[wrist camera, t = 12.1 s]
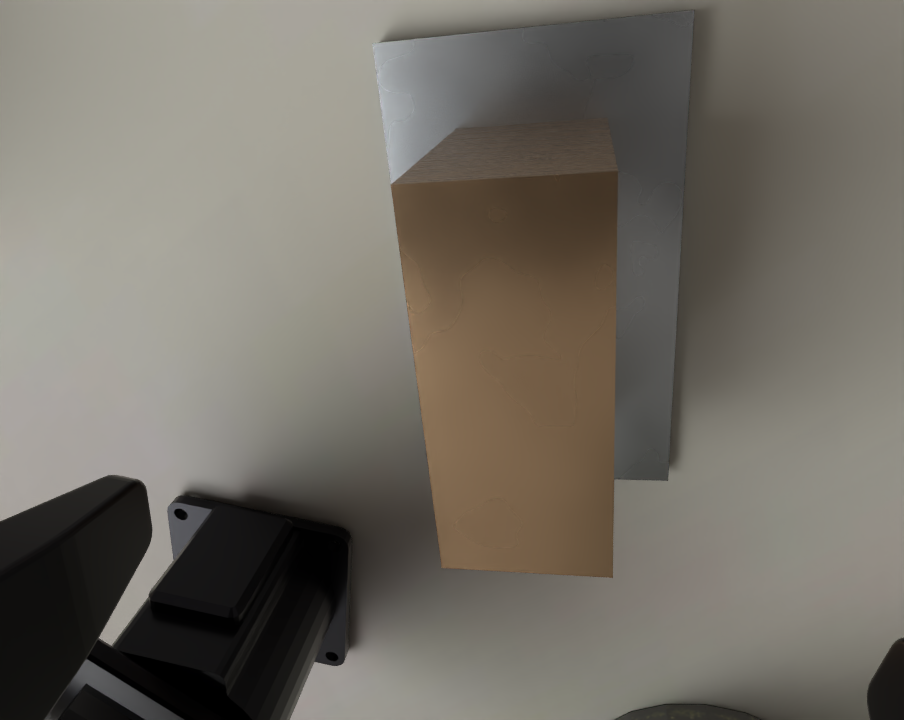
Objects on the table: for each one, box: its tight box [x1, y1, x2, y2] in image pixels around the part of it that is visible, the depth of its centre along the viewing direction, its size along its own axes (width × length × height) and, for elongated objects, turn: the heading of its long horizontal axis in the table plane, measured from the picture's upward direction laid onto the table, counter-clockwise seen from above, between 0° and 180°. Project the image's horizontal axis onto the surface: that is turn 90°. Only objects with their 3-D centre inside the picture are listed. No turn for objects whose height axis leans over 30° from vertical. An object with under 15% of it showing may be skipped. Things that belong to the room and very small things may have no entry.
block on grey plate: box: [372, 10, 694, 578], centre depth 15 cm, size 12×7×7 cm, turn 6°
